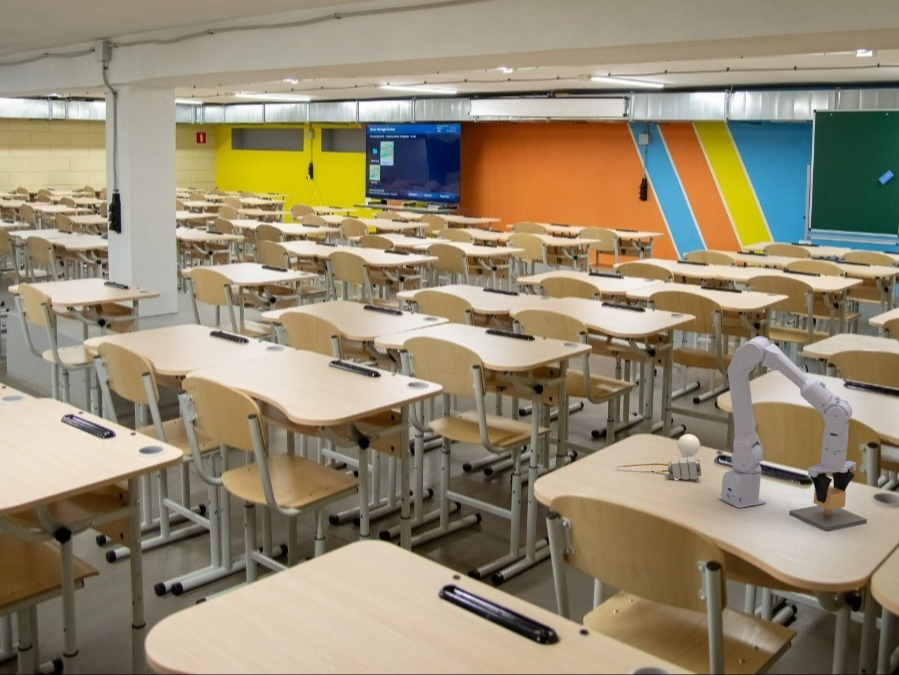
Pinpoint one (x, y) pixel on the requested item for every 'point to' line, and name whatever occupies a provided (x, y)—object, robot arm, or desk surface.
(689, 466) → the electrical component
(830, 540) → the desk surface
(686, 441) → the lightbulb
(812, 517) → the plate
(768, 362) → the robot arm
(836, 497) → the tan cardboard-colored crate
